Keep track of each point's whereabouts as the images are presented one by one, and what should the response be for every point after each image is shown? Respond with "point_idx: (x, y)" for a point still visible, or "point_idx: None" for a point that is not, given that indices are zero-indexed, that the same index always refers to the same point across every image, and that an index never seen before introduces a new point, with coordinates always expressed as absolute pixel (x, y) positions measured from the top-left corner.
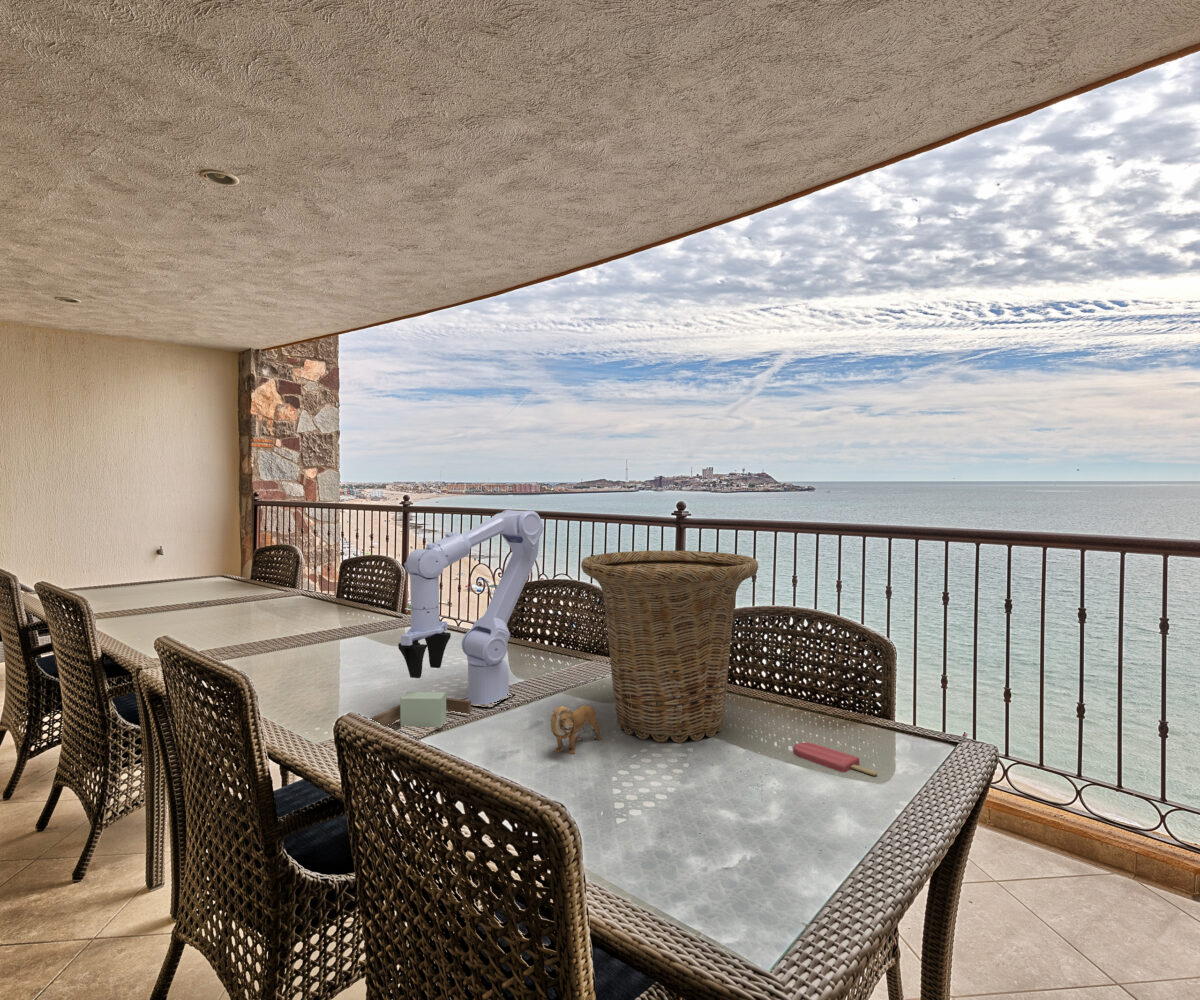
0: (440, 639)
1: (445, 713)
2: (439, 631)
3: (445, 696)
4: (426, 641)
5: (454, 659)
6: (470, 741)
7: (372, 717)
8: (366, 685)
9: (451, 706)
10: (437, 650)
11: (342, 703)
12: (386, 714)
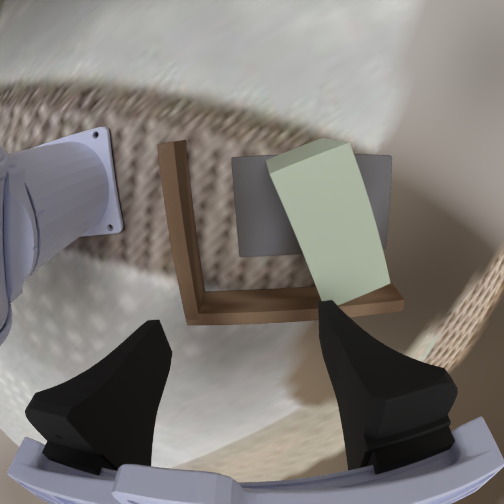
0: (103, 423)
1: (276, 159)
2: (220, 494)
3: (278, 167)
4: (148, 457)
5: (7, 384)
6: (344, 27)
7: (396, 310)
8: (164, 440)
9: (186, 206)
10: (133, 385)
11: (254, 428)
12: (360, 302)
